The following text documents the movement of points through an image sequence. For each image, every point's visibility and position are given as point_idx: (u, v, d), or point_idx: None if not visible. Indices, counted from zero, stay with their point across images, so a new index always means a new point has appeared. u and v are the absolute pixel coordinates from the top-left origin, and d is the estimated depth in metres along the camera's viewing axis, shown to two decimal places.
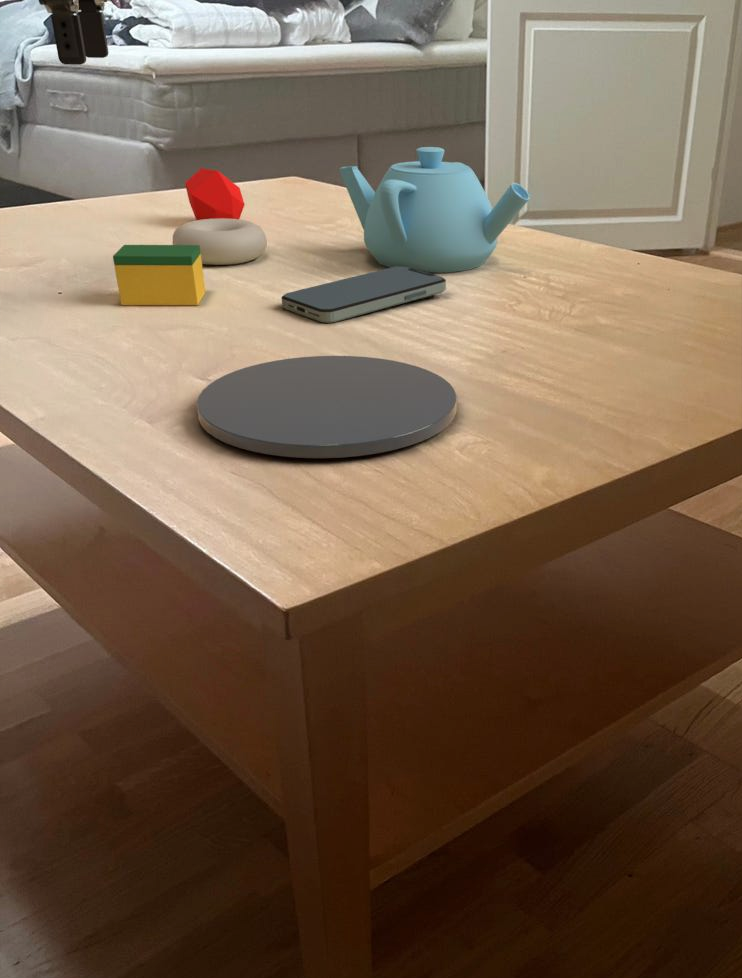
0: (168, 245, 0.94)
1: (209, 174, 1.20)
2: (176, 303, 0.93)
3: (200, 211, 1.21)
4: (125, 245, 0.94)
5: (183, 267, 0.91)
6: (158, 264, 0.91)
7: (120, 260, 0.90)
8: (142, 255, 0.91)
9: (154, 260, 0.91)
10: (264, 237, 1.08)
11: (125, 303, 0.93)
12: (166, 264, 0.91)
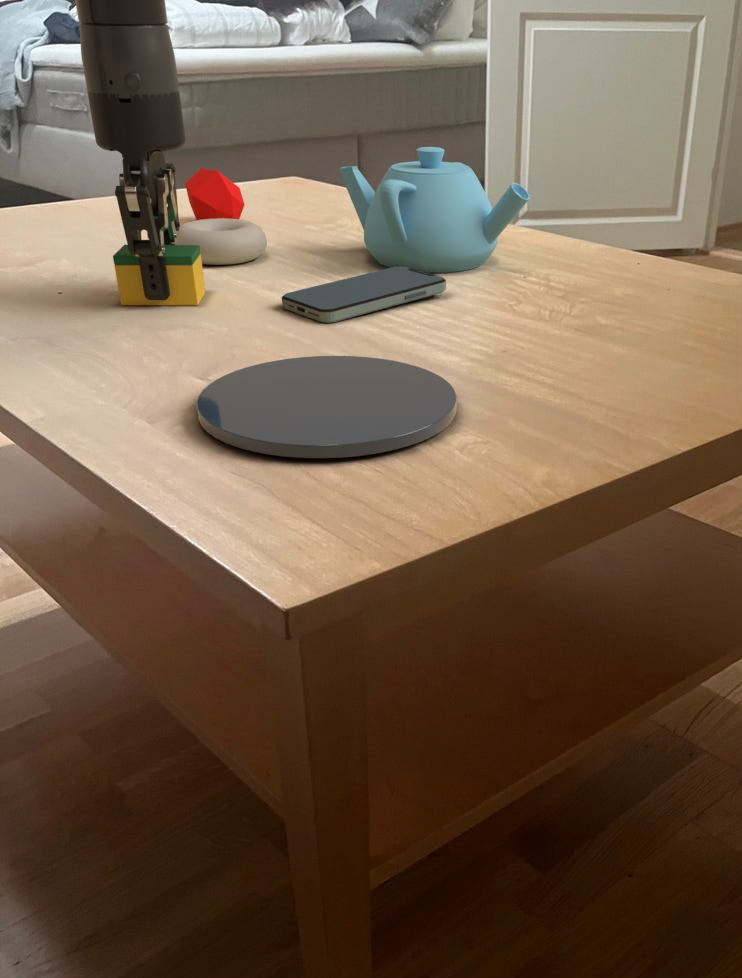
0: (168, 245, 0.94)
1: (209, 175, 1.20)
2: (176, 303, 0.93)
3: (200, 211, 1.21)
4: (125, 245, 0.94)
5: (183, 267, 0.91)
6: None
7: (120, 260, 0.90)
8: None
9: None
10: (264, 237, 1.08)
11: (125, 303, 0.93)
12: (166, 264, 0.91)
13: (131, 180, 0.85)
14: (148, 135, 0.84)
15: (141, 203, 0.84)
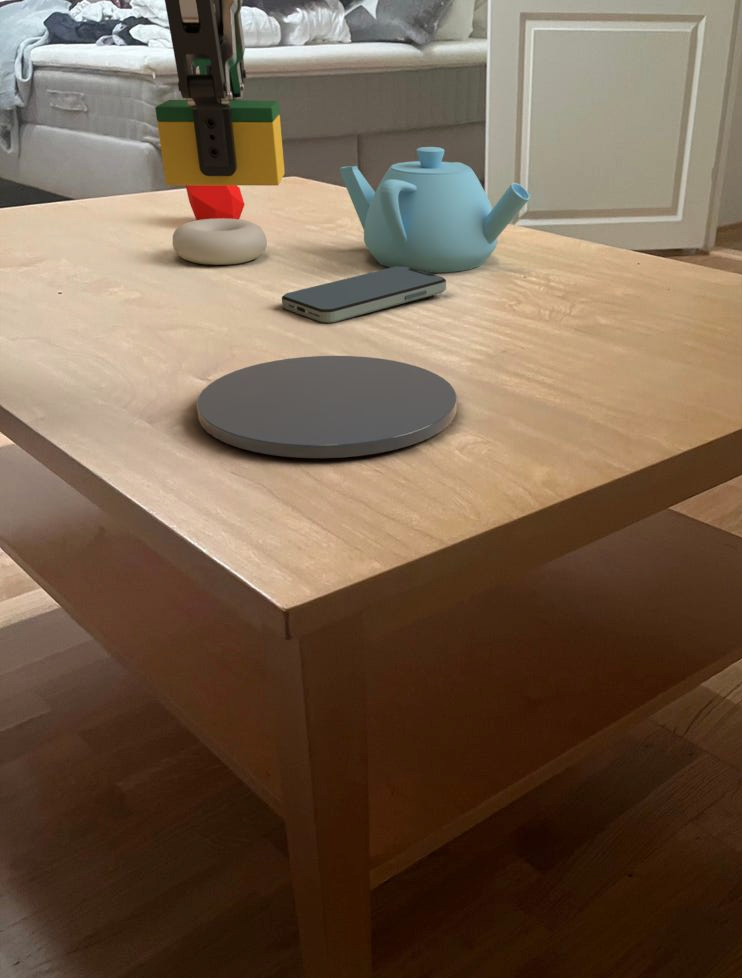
0: (233, 100, 0.64)
1: None
2: (247, 182, 0.63)
3: (200, 211, 1.21)
4: (170, 100, 0.64)
5: (259, 125, 0.61)
6: None
7: (166, 114, 0.61)
8: None
9: None
10: (264, 237, 1.08)
11: (172, 182, 0.63)
12: (234, 120, 0.61)
13: None
14: None
15: (202, 8, 0.54)
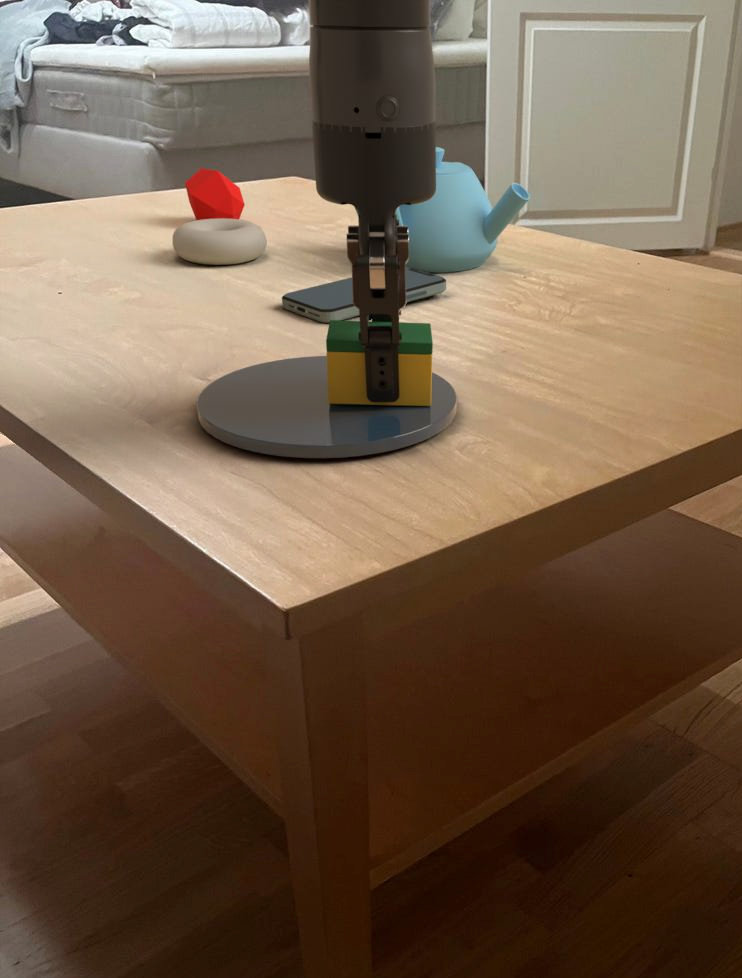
0: (389, 323, 0.70)
1: (209, 174, 1.20)
2: (402, 403, 0.68)
3: (200, 211, 1.21)
4: (332, 321, 0.69)
5: (419, 357, 0.67)
6: None
7: (335, 345, 0.66)
8: None
9: None
10: (264, 237, 1.08)
11: (334, 401, 0.68)
12: None
13: (373, 246, 0.60)
14: (399, 183, 0.60)
15: (389, 279, 0.60)
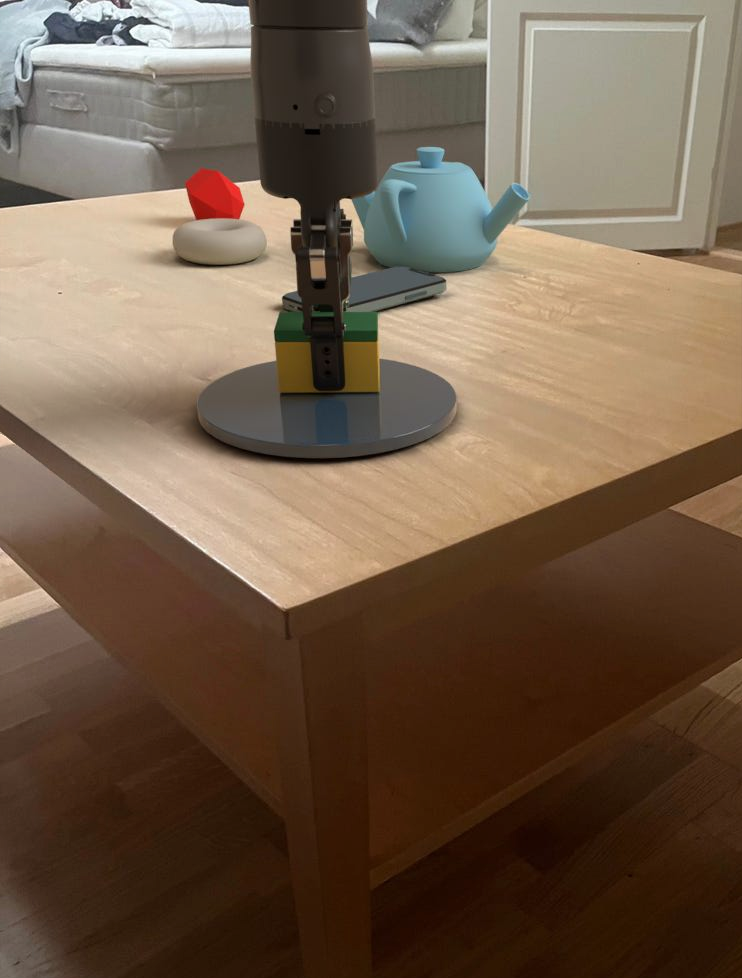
0: None
1: (209, 175, 1.20)
2: (351, 390, 0.70)
3: (200, 211, 1.21)
4: (282, 313, 0.71)
5: (365, 344, 0.69)
6: None
7: (283, 336, 0.68)
8: None
9: None
10: (264, 237, 1.08)
11: (285, 390, 0.70)
12: (343, 340, 0.69)
13: (314, 239, 0.62)
14: (339, 178, 0.62)
15: (330, 270, 0.62)
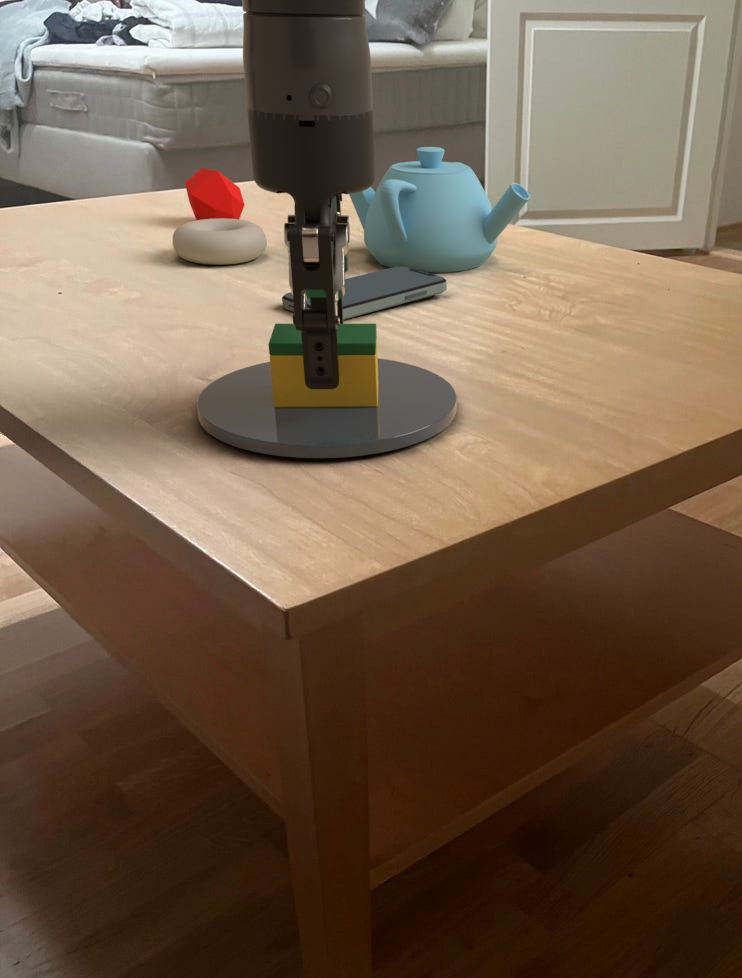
0: None
1: (209, 175, 1.20)
2: (349, 404, 0.68)
3: (200, 211, 1.21)
4: (277, 324, 0.69)
5: (362, 357, 0.67)
6: None
7: (278, 349, 0.66)
8: None
9: None
10: (264, 237, 1.08)
11: (280, 405, 0.68)
12: (340, 354, 0.66)
13: (308, 224, 0.60)
14: (334, 172, 0.59)
15: (323, 248, 0.59)
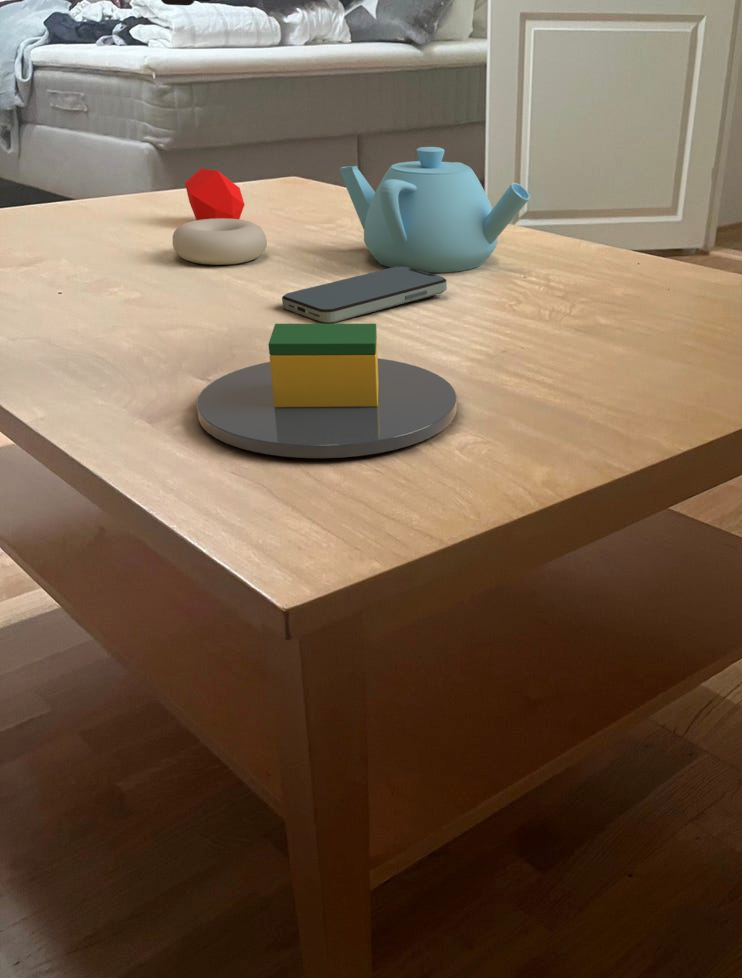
0: (335, 324, 0.70)
1: (209, 175, 1.20)
2: (349, 404, 0.68)
3: (200, 211, 1.21)
4: (277, 324, 0.69)
5: (362, 357, 0.67)
6: (329, 354, 0.66)
7: (278, 349, 0.66)
8: (308, 342, 0.66)
9: (324, 349, 0.66)
10: (264, 237, 1.08)
11: (280, 405, 0.68)
12: (340, 354, 0.66)
13: None
14: None
15: None
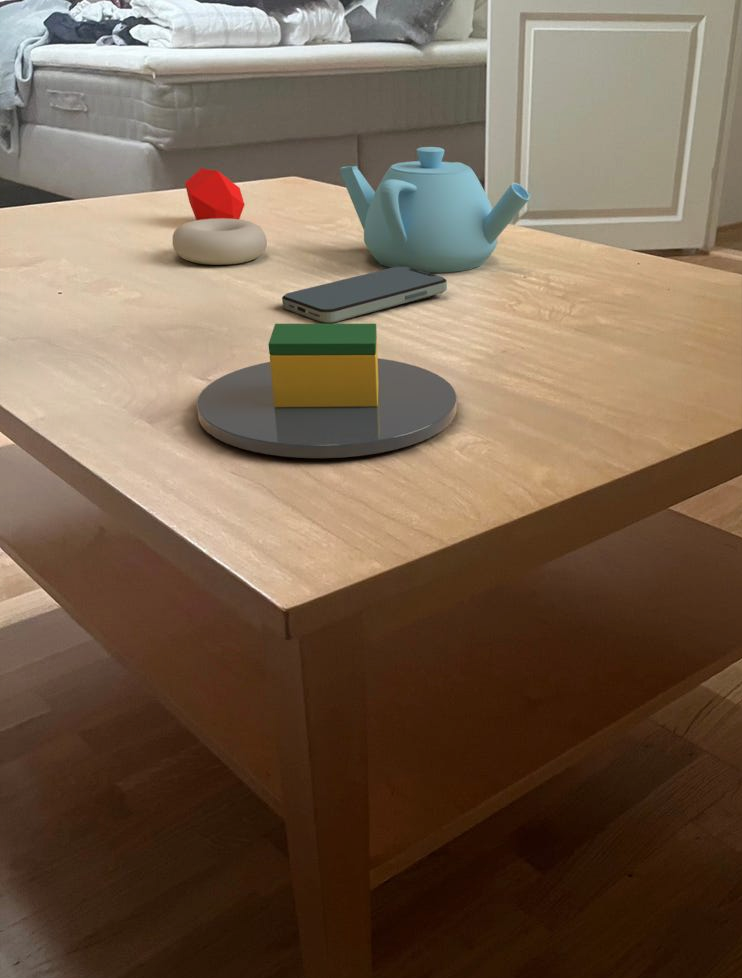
0: (335, 324, 0.70)
1: (209, 175, 1.20)
2: (349, 404, 0.68)
3: (200, 211, 1.21)
4: (277, 324, 0.69)
5: (362, 357, 0.67)
6: (329, 354, 0.66)
7: (278, 349, 0.66)
8: (308, 342, 0.66)
9: (324, 349, 0.66)
10: (264, 237, 1.08)
11: (280, 405, 0.68)
12: (340, 354, 0.66)
13: None
14: None
15: None
